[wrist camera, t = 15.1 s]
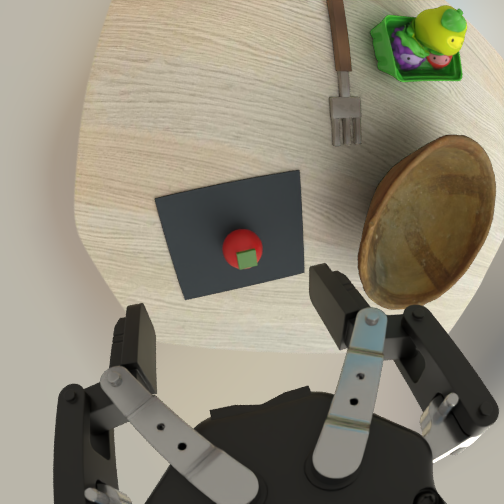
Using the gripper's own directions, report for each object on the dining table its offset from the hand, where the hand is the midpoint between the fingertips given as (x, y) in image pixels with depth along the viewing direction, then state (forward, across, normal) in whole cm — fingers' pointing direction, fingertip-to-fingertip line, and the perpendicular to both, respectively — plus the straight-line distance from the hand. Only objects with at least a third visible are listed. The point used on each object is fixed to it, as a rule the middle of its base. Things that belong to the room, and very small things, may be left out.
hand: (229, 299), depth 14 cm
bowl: (+20, -25, +7) cm, 33 cm away
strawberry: (+20, -3, +8) cm, 22 cm away
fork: (+20, -17, -12) cm, 29 cm away
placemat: (+20, -3, +8) cm, 22 cm away
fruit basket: (+20, -26, -14) cm, 36 cm away
